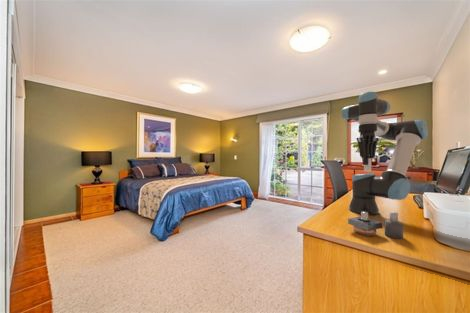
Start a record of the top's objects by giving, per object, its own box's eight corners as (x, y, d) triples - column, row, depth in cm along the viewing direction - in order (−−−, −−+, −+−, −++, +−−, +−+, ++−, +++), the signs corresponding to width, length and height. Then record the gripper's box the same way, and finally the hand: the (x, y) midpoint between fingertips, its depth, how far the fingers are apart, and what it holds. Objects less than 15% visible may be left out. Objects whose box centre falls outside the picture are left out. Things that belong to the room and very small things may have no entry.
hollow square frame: (361, 221, 91) (361, 216, 91) (382, 227, 83) (382, 222, 83) (348, 223, 88) (348, 218, 88) (367, 230, 79) (367, 225, 79)
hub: (361, 227, 91) (361, 208, 91) (380, 234, 83) (380, 213, 83) (349, 230, 88) (349, 210, 88) (367, 237, 80) (367, 216, 80)
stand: (390, 232, 85) (390, 209, 85) (406, 237, 80) (406, 213, 80) (381, 234, 83) (381, 211, 83) (397, 239, 78) (397, 215, 78)
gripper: (368, 125, 102) (368, 170, 102) (351, 124, 97) (351, 171, 97) (384, 123, 95) (384, 171, 95) (366, 122, 90) (366, 172, 90)
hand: (367, 171), depth 96 cm, fingers closed
